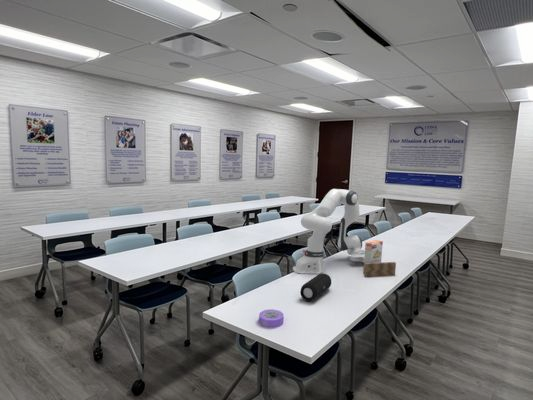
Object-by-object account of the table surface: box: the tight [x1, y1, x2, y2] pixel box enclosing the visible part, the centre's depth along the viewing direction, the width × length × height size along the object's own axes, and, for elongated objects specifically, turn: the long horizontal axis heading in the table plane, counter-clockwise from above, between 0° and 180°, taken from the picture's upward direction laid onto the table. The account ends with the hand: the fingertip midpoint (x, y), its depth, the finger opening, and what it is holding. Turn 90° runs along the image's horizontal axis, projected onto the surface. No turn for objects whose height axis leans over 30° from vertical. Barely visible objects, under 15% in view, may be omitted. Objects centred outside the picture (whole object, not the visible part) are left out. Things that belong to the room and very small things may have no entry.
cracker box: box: [363, 239, 384, 269], centre depth 243 cm, size 14×6×21 cm, turn 131°
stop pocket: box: [363, 261, 397, 278], centre depth 233 cm, size 22×7×9 cm, turn 101°
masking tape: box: [258, 308, 285, 329], centre depth 162 cm, size 12×12×4 cm
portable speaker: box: [300, 272, 332, 302], centre depth 196 cm, size 26×10×10 cm, turn 148°
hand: (368, 260), depth 246 cm, fingers closed
